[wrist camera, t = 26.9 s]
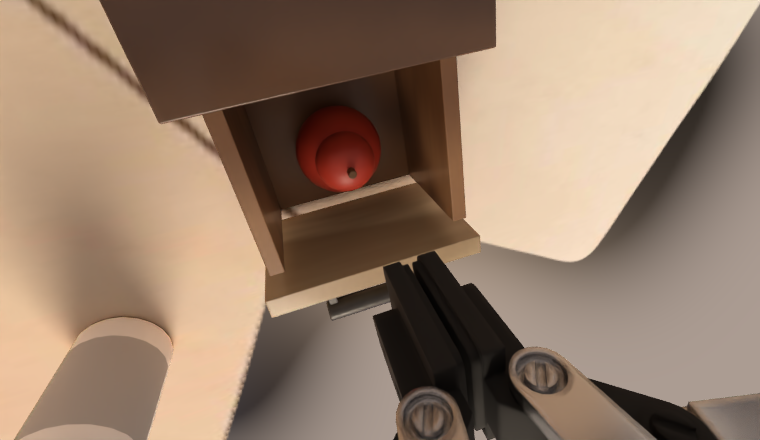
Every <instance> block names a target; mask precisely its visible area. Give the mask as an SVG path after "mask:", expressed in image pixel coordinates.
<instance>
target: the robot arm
mask: <svg viewBox="0 0 760 440" xmlns="http://www.w3.org/2000/svg"><path fill="white" fill-rule="evenodd" d="M412 267H413V272H414V273H413V272H412V270H411V268H410V266H409V265H408V264H405V265H402V264H401V262H400V261H399V262H396V263H393V264H390V265H387V266H384V267H383V271H384V276H385V280H386V285H387V289H388V294H389V298H390V302H391V307H392V310H389V311H386V312H383V313H380V314H377V315H374V316H373V320H374V323H375V327H376V331H377V335H378V338H379V341H380V345H381V348H382V351H383V354H384V357H385V360H386V363H387V366H388V368H389V372H390V375H391V378H392V380H393V383H394V386H395V389H396V392H397V395H398V398H399V401H400V403H399V405H398V408H397V411H396V425H397V433H396V435H395V438H394V439H393V440H475V438H474V429H475V430H476V431H478V430H480V429H482V430H483V432H484V434H485V436H486V438H487V440H490V439H493V438H496V440H760V393H758V394H750V395H742V396H734V397H725V398H717V399H709V400H701V401H692V402H689V403H688V405H687V406H685V407H679V406H677V405H674V404H672V403H669V402H666V401H663V400H659V399H656V398H653V397H649V396H646V395H643V394H639V393H636V392H632V391H629V390H626V389H622V388H619V387H615V386H612V385H609V384H606V383H602V382H599V381H596V380H592V379H589V378H587V377H586V376H584V375H583V374H582V373H581V372H580V371H579V370H578V369H577V368H575V367H574V366H573V365H572V364H571V363H570V362H569V361H567V360H566V359H565V358H564V357H562V356H561V355H560V354H558V353H557V352H555V351H552V350H550V349H547V348H542V347H527V348H524V347H523V345H522V344H521V343H520V342H519V340H518V339H517V338H516V337H515V335H514V334H513V333H512V332H511V330H510V329H509V328H508V326H507V325H506V324H505V323H504V322H503V320H502V319H501V318H500V316H499V315H498V314H497V313H496V311H495V310H494V309H493V307H492V306H491V305H490V304H489V303H488V301H487V300H486V299H485V297H484V296H483V295H482V294H481V292H480V291H479V290H478V288H477V287H476V286H475V285H474V284H472V283H470V284H466V285H463V286H460V284H459V283H458V282H457V280H456V279H455V278H454V276H453V275H452V273H451V272H450V271H449V269H448V268H447V267H446V265H445V264H444V262H443V261H442V260H441V258H440V257H439V256H438V254H437V253H436V252H435V251H431V252H428V253H425V254H421V255H418V256H417V261H415V262H412Z"/></svg>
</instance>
